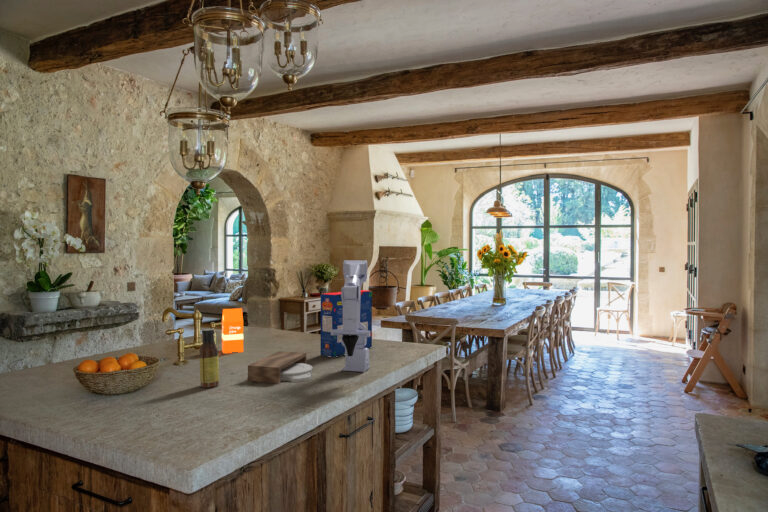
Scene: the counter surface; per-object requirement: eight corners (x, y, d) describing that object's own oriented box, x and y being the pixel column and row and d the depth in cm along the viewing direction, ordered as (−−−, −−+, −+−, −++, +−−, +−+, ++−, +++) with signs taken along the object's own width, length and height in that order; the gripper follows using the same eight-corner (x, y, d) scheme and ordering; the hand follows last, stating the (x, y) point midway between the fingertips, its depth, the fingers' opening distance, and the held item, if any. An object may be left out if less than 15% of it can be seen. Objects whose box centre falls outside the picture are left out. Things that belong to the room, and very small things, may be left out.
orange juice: (221, 350, 235) (221, 308, 235) (240, 348, 239) (240, 307, 239) (223, 353, 228) (223, 310, 228) (243, 352, 232) (243, 309, 232)
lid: (282, 385, 177) (282, 377, 176) (259, 374, 192) (259, 366, 192) (324, 378, 187) (324, 370, 187) (299, 368, 203) (299, 360, 203)
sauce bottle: (222, 384, 177) (222, 328, 176) (211, 389, 171) (211, 331, 170) (207, 382, 179) (207, 327, 179) (195, 387, 173) (195, 330, 173)
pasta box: (358, 345, 248) (359, 289, 248) (371, 347, 243) (372, 290, 243) (320, 355, 225) (320, 293, 225) (333, 358, 221) (334, 294, 220)
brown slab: (306, 366, 204) (306, 352, 204) (278, 383, 178) (278, 367, 178) (278, 365, 207) (279, 351, 206) (247, 381, 181) (247, 365, 181)
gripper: (327, 319, 179) (327, 356, 179) (366, 320, 176) (366, 359, 176) (334, 316, 186) (334, 352, 186) (372, 318, 183) (371, 355, 183)
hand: (350, 355), depth 182 cm, fingers closed
